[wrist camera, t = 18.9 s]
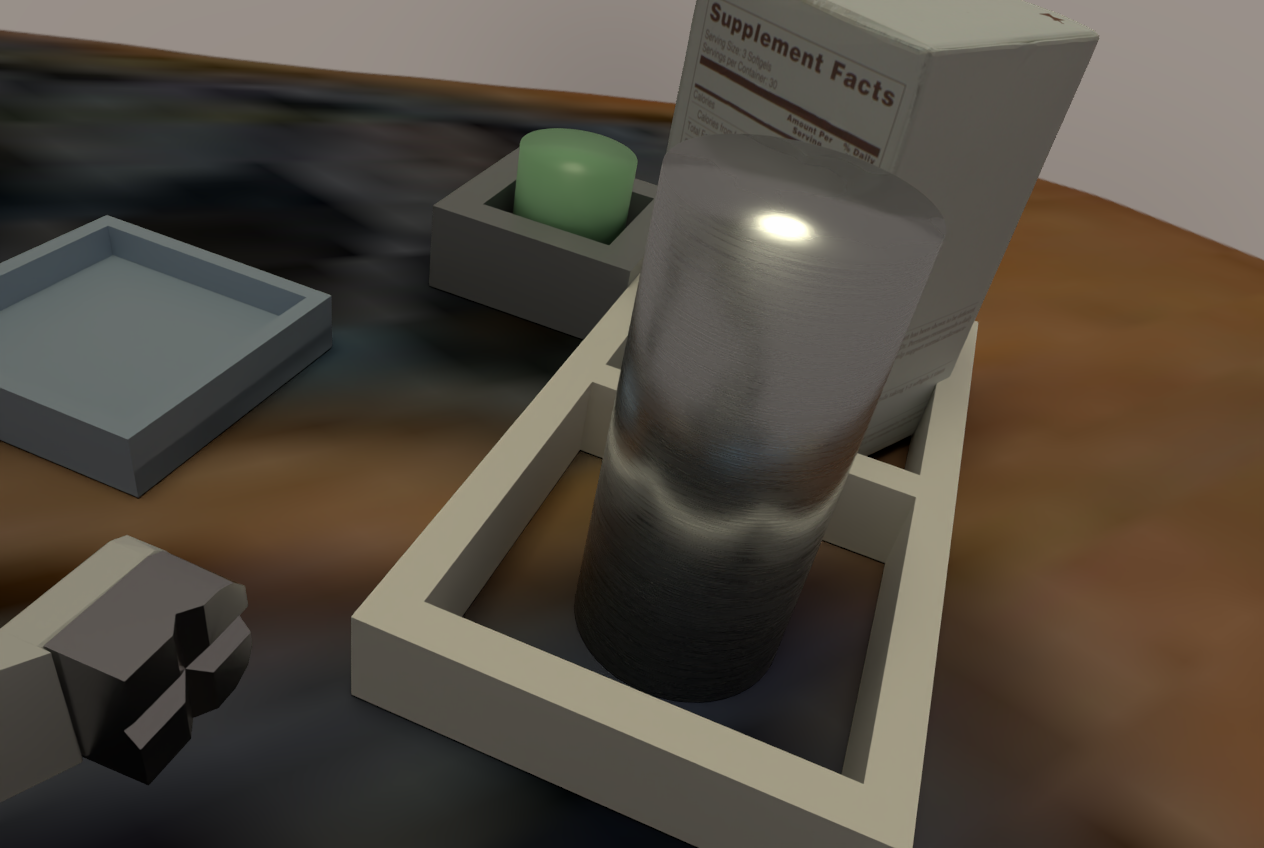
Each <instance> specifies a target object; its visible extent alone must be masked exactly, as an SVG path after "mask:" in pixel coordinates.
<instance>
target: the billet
mask: <svg viewBox="0 0 1264 848" xmlns="http://www.w3.org/2000/svg"><path fill="white" fill-rule="evenodd" d="M945 235H946V225H945V221H944V218H943V217H942V215H941V213H940V211H939V210H938V209H937V208H936V206H935V205H934V204H933V203H932V202H931V201H930V200H929V199H928V198H927V197H926V196H925V195H924V194H922V193H921V192H920V191H918V190H917V189H916V188H914V187H913V186H911V185H910V184H908V183H907V182H905V181H904V180H902V179H900V178H898V177H897V176H895V175H893V174H891V173H890V172H887V171H885V170H883V169H881V168H879V167H877V166H875V165H873V164H870V163H868V162H866V161H863V160H861V159H858V158H855V157H853V156H850V155H847V154H845V153H841V152H838V151H835V150H832V149H829V148H825V147H822V146H818V145H814V144H810V143H806V142H801V141H797V140H791V139H786V138H780V137H773V136H766V135H755V134H714V135H705V136H700V137H695V138H692V139H689V140H685V141H683V142H681V143H679V144H677V145H675V146H674V147H673V148H671V149H670V150H669V151H668V152H667V154H666V155H665V157H664V160H663V163H662V168H661V172H660V177H659V182H658V187H657V192H656V197H655V202H654V207H653V212H652V217H651V222H650V227H649V232H648V237H647V242H646V247H645V252H644V257H643V262H642V267H641V272H640V277H639V282H638V287H637V292H636V297H635V302H634V306H633V311H632V316H631V321H630V326H629V331H628V336H627V341H626V346H625V351H624V356H623V361H622V366H621V371H620V376H619V381H618V386H617V391H616V396H615V401H614V406H613V411H612V416H611V421H610V426H609V431H608V436H607V441H606V445H605V450H604V455H603V460H602V465H601V470H600V475H599V480H598V485H597V490H596V495H595V500H594V505H593V510H592V515H591V520H590V525H589V530H588V535H587V540H586V545H585V550H584V555H583V560H582V565H581V570H580V575H579V580H578V584H577V589H576V594H575V603H574V610H575V619H576V623H577V627H578V630H579V632H580V635H581V637H582V639H583V641H584V642H585V644H586V646H587V648H588V649H589V650H590V652H591V653H592V654H593V656H594V657H595V658H596V659H597V660H598V661H599V662H600V663H601V664H602V665H603V666H604V667H605V668H606V669H607V670H608V671H609V672H611V673H612V674H613V675H615V676H616V677H617V678H619V679H620V680H622V681H624V682H625V683H627V684H628V685H630V686H632V687H634V688H636V689H639V690H641V691H643V692H645V693H648V694H651V695H654V696H657V697H661V698H665V699H669V700H675V701H683V702H707V701H715V700H720V699H724V698H728V697H731V696H733V695H736V694H739V693H741V692H742V691H744V690H746V689H748V688H750V687H751V686H752V685H754V684H755V683H756V682H757V681H759V680H760V679H761V678H762V676H763V675H764V674H765V673H766V672H767V670H768V669H769V667H770V666H771V664H772V662H773V659H774V657H775V655H776V652H777V650H778V647H779V645H780V642H781V640H782V637H783V635H784V632H785V630H786V627H787V625H788V623H789V620H790V618H791V615H792V613H793V610H794V608H795V605H796V603H797V600H798V598H799V595H800V593H801V590H802V588H803V586H804V583H805V581H806V578H807V576H808V573H809V571H810V568H811V566H812V563H813V561H814V558H815V556H816V553H817V551H818V549H819V546H820V544H821V541H822V539H823V536H824V534H825V531H826V529H827V526H828V524H829V521H830V519H831V516H832V514H833V512H834V509H835V507H836V504H837V502H838V499H839V497H840V494H841V492H842V489H843V487H844V484H845V482H846V479H847V477H848V475H849V472H850V470H851V467H852V465H853V462H854V460H855V457H856V455H857V452H858V450H859V447H860V445H861V442H862V440H863V438H864V435H865V433H866V430H867V428H868V425H869V423H870V420H871V418H872V415H873V413H874V410H875V408H876V405H877V403H878V401H879V398H880V396H881V393H882V391H883V388H884V386H885V383H886V381H887V378H888V376H889V373H890V371H891V368H892V366H893V364H894V361H895V359H896V356H897V354H898V351H899V349H900V346H901V344H902V341H903V339H904V336H905V334H906V331H907V329H908V327H909V324H910V322H911V319H912V317H913V314H914V312H915V309H916V307H917V304H918V302H919V299H920V297H921V294H922V292H923V290H924V287H925V285H926V282H927V280H928V277H929V275H930V272H931V270H932V267H933V265H934V262H935V260H936V257H937V255H938V253H939V250H940V248H941V245H942V243H943V240H944V238H945Z"/></svg>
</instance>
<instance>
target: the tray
mask: <svg viewBox="0 0 1264 848" xmlns="http://www.w3.org/2000/svg"><path fill="white" fill-rule="evenodd" d="M331 347H332V305H331V295H328V294H325V293H323V292H320V291H317V290H314V289H312V288H309V287H306V286H303V285H300V284H298V283H295V282H292V281H289V280H286V279H284V278H281V277H278V276H275V275H272V274H270V273H267V272H264V271H261V270H259V269H256V268H253V267H250V266H247V265H245V264H242V263H239V262H236V261H233V260H231V259H228V258H225V257H222V256H219V255H217V254H214V253H211V252H208V251H206V250H203V249H200V248H197V247H194V246H192V245H189V244H186V243H183V242H180V241H178V240H175V239H172V238H169V237H166V236H164V235H161V234H158V233H155V232H153V231H150V230H147V229H144V228H141V227H139V226H136V225H133V224H130V223H127V222H125V221H122V220H119V219H116V218H114V217H111V216H108V215H106V216H104V217H102V218H99V219H97V220H95V221H93V222H91V223H88V224H86V225H84V226H82V227H80V228H77V229H75V230H73V231H71V232H69V233H66V234H64V235H62V236H60V237H57V238H55V239H53V240H51V241H49V242H46V243H44V244H42V245H40V246H38V247H35V248H33V249H31V250H29V251H27V252H24V253H22V254H20V255H18V256H15V257H13V258H11V259H9V260H7V261H4V262H2V263H0V440H2V441H4V442H7V443H9V444H11V445H14V446H16V447H19V448H21V449H23V450H26V451H28V452H31V453H33V454H35V455H38V456H40V457H42V458H45V459H47V460H50V461H52V462H54V463H57V464H59V465H62V466H64V467H66V468H69V469H71V470H74V471H76V472H78V473H81V474H83V475H85V476H88V477H90V478H93V479H95V480H97V481H100V482H102V483H105V484H107V485H109V486H112V487H114V488H117V489H119V490H121V491H124V492H126V493H129V494H131V495H133V496H136V497H138V498H139V497H140V496H141V495H142V494H144V493H145V492H146V491H147V490H149V489H150V488H151V487H153V486H154V485H155V484H156V483H158V482H159V481H160V480H162V479H163V478H164V477H165V476H167V475H168V474H169V473H171V472H172V471H173V470H174V469H176V468H177V467H178V466H180V465H181V464H182V463H183V462H185V461H186V460H187V459H189V458H190V457H191V456H192V455H194V454H195V453H196V452H197V451H199V450H200V449H201V448H203V447H204V446H205V445H206V444H208V443H209V442H210V441H212V440H213V439H214V438H215V437H217V436H218V435H219V434H221V433H222V432H223V431H224V430H226V429H227V428H228V427H230V426H231V425H232V424H233V423H235V422H236V421H237V420H239V419H240V418H241V417H242V416H244V415H245V414H246V413H248V412H249V411H250V410H251V409H253V408H254V407H255V406H256V405H258V404H259V403H260V402H262V401H263V400H264V399H265V398H267V397H268V396H269V395H271V394H272V393H273V392H274V391H276V390H277V389H278V388H280V387H281V386H282V385H283V384H285V383H286V382H287V381H289V380H290V379H291V378H292V377H294V376H295V375H296V374H298V373H299V372H300V371H301V370H303V369H304V368H305V367H307V366H308V365H309V364H310V363H312V362H313V361H314V360H315V359H317V358H318V357H319V356H321V355H322V354H323V353H324V352H326V351H327V350H328V349H330V348H331Z"/></svg>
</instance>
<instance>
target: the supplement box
mask: <svg viewBox="0 0 1264 848" xmlns="http://www.w3.org/2000/svg"><path fill="white" fill-rule="evenodd" d="M1098 40H1099V35H1098V34H1097V33H1096V32H1095V31H1094V30H1092V29H1090V28H1088V27H1086V26H1084V25H1082V24H1080V23H1078V22H1076V21H1074V20H1071V19H1069V18H1067V17H1065V16H1062V15H1060V14H1058V13H1055V12H1052V11H1050V10H1047V9H1044V8H1041V7H1039V6H1036V5H1033V4H1030V3H1028V2H1025V1H1022V0H697V1H696V6H695V10H694V15H693V20H692V25H691V31H690V36H689V41H688V46H687V52H686V57H685V62H684V67H683V71H682V76H681V81H680V86H679V91H678V96H677V101H676V106H675V112H674V117H673V122H672V127H671V131H670V136H669V142H668V147H667V152H668V151H669V150H670V149H671V148H673V147H674V146H675V145H677V144H679V143H681V142H683V141H685V140H689V139H692V138H695V137H700V136H705V135H714V134H755V135H766V136H773V137H780V138H786V139H791V140H797V141H801V142H806V143H810V144H814V145H818V146H822V147H825V148H829V149H832V150H835V151H838V152H841V153H845V154H847V155H850V156H853V157H855V158H858V159H861V160H863V161H866V162H868V163H870V164H873V165H875V166H877V167H879V168H881V169H883V170H885V171H887V172H890V173H891V174H893V175H895V176H897V177H898V178H900V179H902V180H904V181H905V182H907V183H908V184H910V185H911V186H913V187H914V188H916V189H917V190H918V191H920V192H921V193H922V194H924V195H925V196H926V197H927V198H928V199H929V200H930V201H931V202H932V203H933V204H934V205H935V206H936V208H937V209H938V210H939V211H940V213H941V215H942V217H943V218H944V221H945V225H946V235H945V238H944V240H943V243H942V245H941V248H940V250H939V253H938V255H937V257H936V260H935V262H934V265H933V267H932V270H931V272H930V275H929V277H928V280H927V282H926V285H925V287H924V290H923V292H922V294H921V297H920V299H919V302H918V304H917V307H916V309H915V312H914V314H913V317H912V319H911V322H910V324H909V327H908V329H907V331H906V334H905V336H904V339H903V341H902V344H901V346H900V349H899V351H898V354H897V356H896V359H895V361H894V364H893V366H892V368H891V371H890V373H889V376H888V378H887V381H886V383H885V386H884V388H883V391H882V393H881V396H880V398H879V401H878V403H877V405H876V408H875V410H874V413H873V415H872V418H871V420H870V423H869V425H868V428H867V430H866V433H865V435H864V438H863V440H862V442H861V445H860V447H859V450H858V452H857V453H858V454H861V455H864V456H868V455H870V454H872V453H875V452H877V451H879V450H881V449H883V448H885V447H887V446H889V445H891V444H893V443H895V442H898V441H900V440H902V439H904V438H906V437H908V436H910V435H912V434H914V433H915V431H916V429H917V427H918V425H919V422H920V420H921V418H922V416H923V414H924V411H925V409H926V407H927V404H928V402H929V400H930V398H931V395H932V393H933V391H934V389H935V386H936V384H937V383H939V382H940V381H942V380H944V379H946V378H948V377H950V375H951V373H952V371H953V369H954V367H955V364H956V362H957V359H958V357H959V355H960V352H961V350H962V348H963V346H964V343H965V341H966V339H967V337H968V334H969V332H970V329H971V327H972V325H973V323H974V321H975V318H976V316H977V314H978V312H979V309H980V307H981V305H982V303H983V300H984V298H985V296H986V293H987V291H988V289H989V287H990V284H991V282H992V280H993V278H994V275H995V273H996V271H997V269H998V266H999V264H1000V262H1001V260H1002V258H1003V255H1004V253H1005V251H1006V249H1007V246H1008V244H1009V242H1010V239H1011V237H1012V235H1013V233H1014V230H1015V228H1016V226H1017V223H1018V221H1019V219H1020V217H1021V214H1022V212H1023V210H1024V208H1025V205H1026V203H1027V201H1028V199H1029V197H1030V194H1031V192H1032V190H1033V188H1034V185H1035V183H1036V181H1037V178H1038V176H1039V174H1040V172H1041V169H1042V167H1043V165H1044V162H1045V160H1046V158H1047V156H1048V153H1049V151H1050V149H1051V147H1052V144H1053V142H1054V140H1055V138H1056V135H1057V133H1058V131H1059V129H1060V126H1061V124H1062V122H1063V120H1064V118H1065V115H1066V113H1067V111H1068V109H1069V106H1070V104H1071V102H1072V100H1073V97H1074V95H1075V93H1076V91H1077V88H1078V86H1079V84H1080V82H1081V79H1082V77H1083V75H1084V72H1085V70H1086V68H1087V65H1088V63H1089V61H1090V59H1091V56H1092V54H1093V52H1094V49H1095V47H1096V45H1097V42H1098ZM666 154H667V153H666Z"/></svg>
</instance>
